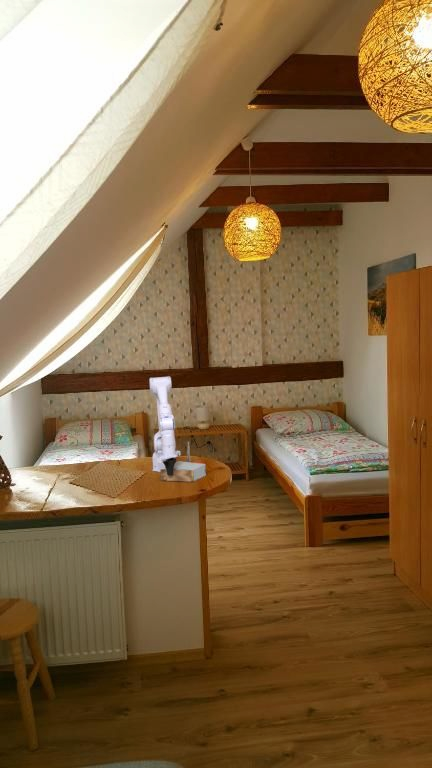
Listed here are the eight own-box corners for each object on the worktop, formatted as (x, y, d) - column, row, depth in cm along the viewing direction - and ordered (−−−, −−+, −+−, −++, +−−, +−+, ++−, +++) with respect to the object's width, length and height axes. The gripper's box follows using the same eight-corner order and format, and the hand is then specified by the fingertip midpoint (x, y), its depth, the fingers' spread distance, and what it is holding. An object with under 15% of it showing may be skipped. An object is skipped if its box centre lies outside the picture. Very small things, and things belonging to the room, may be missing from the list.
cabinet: (166, 477, 255) (165, 466, 254) (178, 471, 264) (178, 461, 263) (193, 481, 247) (193, 470, 247) (206, 474, 256) (205, 464, 255)
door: (194, 480, 247) (193, 470, 246) (192, 482, 245) (191, 471, 244) (162, 479, 251) (161, 469, 251) (159, 481, 249) (159, 470, 249)
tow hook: (200, 464, 276) (183, 466, 272) (199, 437, 275) (182, 440, 270) (208, 467, 269) (191, 470, 265) (208, 441, 268) (190, 443, 263)
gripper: (165, 449, 238) (167, 480, 239) (185, 441, 250) (187, 471, 252) (152, 448, 241) (154, 478, 243) (172, 440, 254) (174, 470, 255)
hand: (170, 475), depth 248 cm, fingers closed, pressing on door
